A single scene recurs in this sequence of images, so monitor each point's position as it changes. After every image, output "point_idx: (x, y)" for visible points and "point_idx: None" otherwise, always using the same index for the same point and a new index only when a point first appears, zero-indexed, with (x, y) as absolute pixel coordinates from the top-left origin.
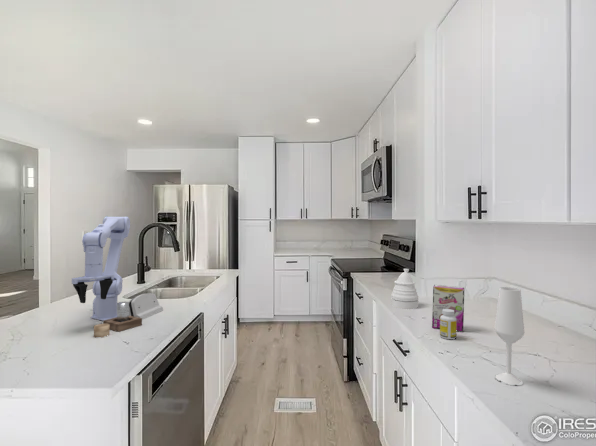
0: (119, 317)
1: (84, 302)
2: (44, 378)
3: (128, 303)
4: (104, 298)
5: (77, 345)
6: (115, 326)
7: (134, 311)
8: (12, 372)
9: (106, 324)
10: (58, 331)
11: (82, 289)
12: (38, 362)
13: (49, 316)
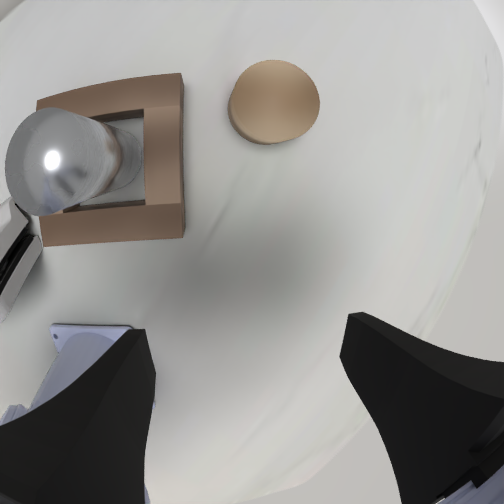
0: (122, 142)
1: (357, 314)
2: (472, 16)
3: (23, 124)
4: (140, 332)
5: (385, 91)
6: (181, 107)
7: (5, 238)
8: (497, 96)
9: (249, 93)
10: (324, 332)
11: (488, 365)
12: (472, 89)
13: (236, 472)
